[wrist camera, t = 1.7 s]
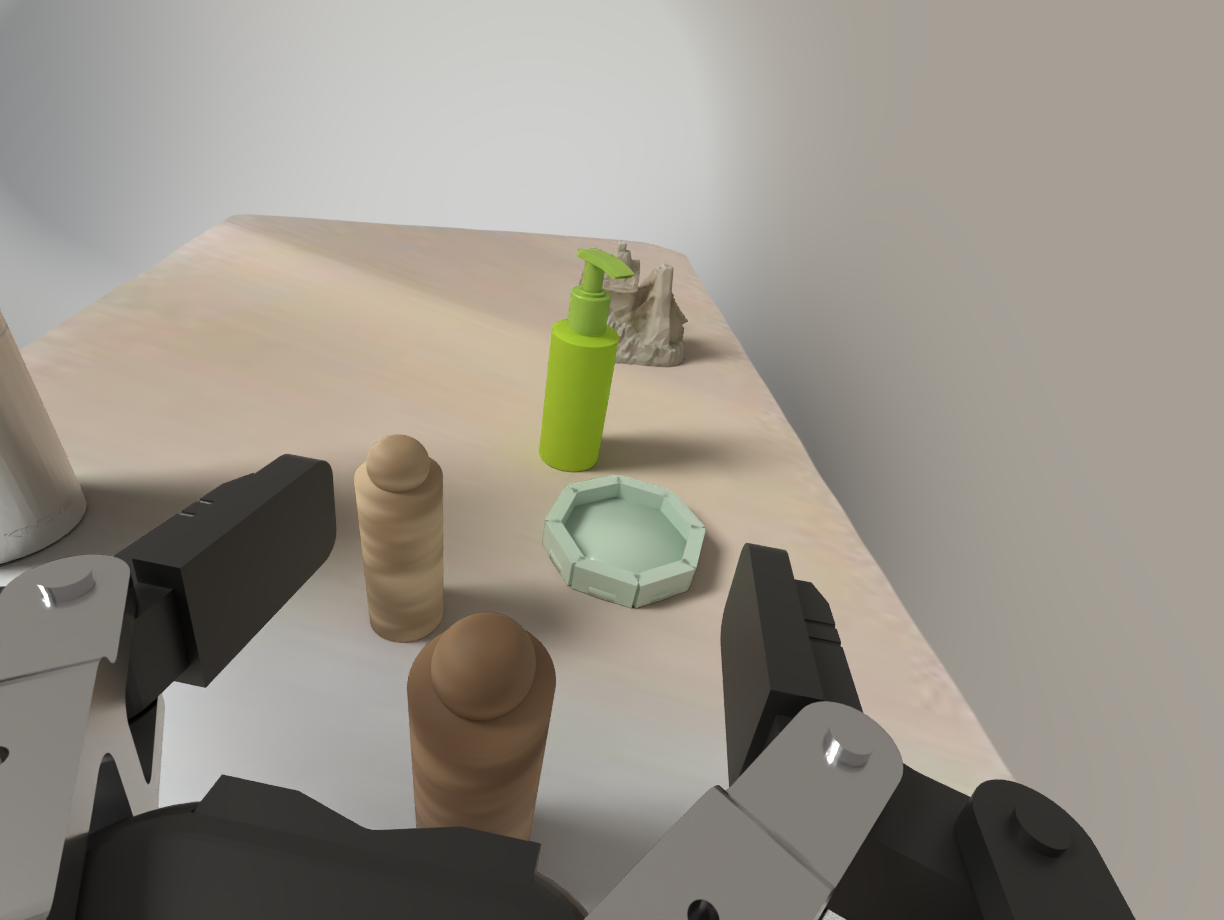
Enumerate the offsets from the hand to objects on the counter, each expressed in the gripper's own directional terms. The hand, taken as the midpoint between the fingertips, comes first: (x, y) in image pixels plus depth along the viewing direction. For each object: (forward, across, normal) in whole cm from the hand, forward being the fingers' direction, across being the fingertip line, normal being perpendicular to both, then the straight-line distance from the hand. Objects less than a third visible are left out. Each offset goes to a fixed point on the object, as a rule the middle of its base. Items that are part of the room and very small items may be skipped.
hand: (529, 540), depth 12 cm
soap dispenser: (+43, +5, +20) cm, 48 cm away
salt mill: (+21, +12, +23) cm, 34 cm away
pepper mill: (+8, +3, +25) cm, 27 cm away
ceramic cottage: (+74, +3, +16) cm, 75 cm away
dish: (+32, -2, +22) cm, 39 cm away
